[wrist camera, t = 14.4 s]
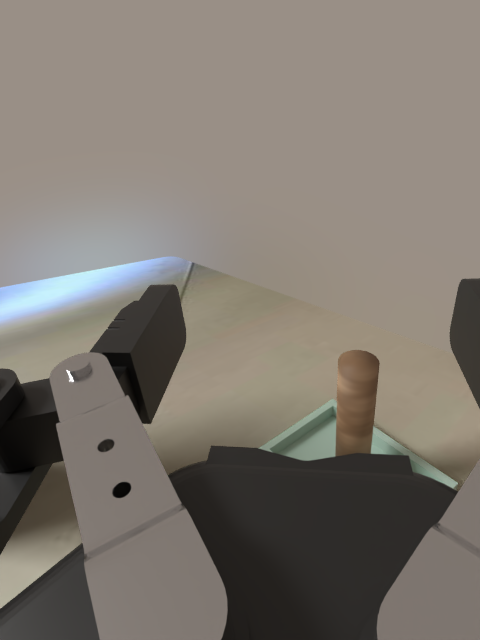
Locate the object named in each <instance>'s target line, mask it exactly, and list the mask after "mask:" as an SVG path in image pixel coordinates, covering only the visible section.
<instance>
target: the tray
mask: <svg viewBox="0 0 480 640" xmlns="http://www.w3.org/2000/svg"><path fill="white" fill-rule="evenodd" d="M336 416H337V401H335V400H334V399H332V400H330V401H329V402H327V403H326V404H324V405H323V406H321V407H320V408H318V409H317V410H315V411H314V412H312V413H311V414H309V415H308V416H306V417H305V418H303V419H302V420H300V421H299V422H297V423H296V424H294V425H293V426H291V427H290V428H288V429H287V430H285V431H284V432H282V433H281V434H279V435H278V436H276V437H275V438H273V439H272V440H270V441H269V442H267V443H266V444H264V445H263V446H261V447H260V448H258V449H262V450H266V451H269V452H273V453H277V454H281V455H284V456H288V457H292V458H296V459H299V460H304V461H310V460H317V459H323V458H329V457H335V449H336ZM371 454H389V455H409V458H410V462H411V466H412V471H413V472H415V473H419V474H422V475H425V476H427V477H430V478H433V479H435V480H437V481H439V482H441V483H444V484H446V485H447V486H449V487H451V488H453V489H454V490H456V489H457V486H458V483H457V482H456V481H454V480H453V479H451V478H450V477H448V476H447V475H445V474H444V473H442V472H441V471H439V470H438V469H436V468H435V467H433V466H432V465H430V464H429V463H427V462H426V461H425V460H423V459H422V458H420V457H419V456H417V455H416V454H414V453H413V452H411V451H410V450H408V449H407V448H405V447H404V446H402V445H401V444H399V443H398V442H396V441H395V440H393V439H392V438H390V437H389V436H387V435H386V434H384V433H383V432H381V431H380V430H378V429H377V428H375V427H374V426H373V436H372V446H371Z"/></svg>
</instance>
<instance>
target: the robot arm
mask: <svg viewBox="0 0 480 640" xmlns="http://www.w3.org/2000/svg"><path fill="white" fill-rule="evenodd" d="M185 343H186V328H185V322H184V317H183V312H182V307H181V302H180V297H179V292H178V289H177V287H176V285H150V286H149V287H148V288H147V290H146V291H145V293H144V294H143V295H142V297H141V298H140V300H139V301H133V302H132V303H130V304H129V305H127V306H126V307H125V308H123V309H122V310H121V311H120V312H119V313H118V315H117V316H116V317H115V319H114V321H112V323H111V324H110V325H109V327H108V329H106V331H105V332H104V333H103V335H102V336H101V337H100V339H99V340H98V341H97V343H96V344H95V345H94V347H93V348H92V349H91V351H90V352H89V353H82V354H78V355H74V356H72V357H69V358H67V359H65V360H64V361H62V362H61V363H59V364H58V365H57V366H56V367H55V368H54V369H53V370H52V372H51V374H50V377H49V378H48V379H43V380H38V381H33V382H28V383H23V384H20V382H19V380H18V377H17V375H16V374H15V372H14V371H12V370H10V369H0V554H1V553H2V551H3V549H4V547H5V546H6V544H7V542H8V540H9V539H10V537H11V535H12V533H13V532H14V530H15V528H16V526H17V525H18V523H19V521H20V519H21V518H22V516H23V514H24V512H25V511H26V509H27V507H28V505H29V504H30V502H31V500H32V498H33V497H34V495H35V493H36V491H37V490H38V488H39V486H40V484H41V482H42V481H43V479H44V477H45V475H46V474H47V472H48V470H49V468H50V467H51V465H52V463H55V462H60V461H64V463H65V468H66V472H67V477H68V481H69V485H70V490H71V494H72V499H73V503H74V507H75V512H76V516H77V521H78V525H79V530H80V534H81V538H82V544H80V545H79V546H78V547H77V548H75V549H74V550H73V551H72V552H70V553H69V554H68V555H67V556H65V557H64V558H63V559H62V560H60V561H59V562H58V563H57V564H55V565H54V566H53V567H52V568H51V569H49V570H48V571H47V572H46V573H44V574H43V575H42V576H41V577H39V578H38V579H37V580H36V581H34V582H33V583H32V584H31V585H29V586H28V587H27V588H26V589H25V590H23V591H22V592H21V593H20V594H18V595H17V596H16V597H15V598H13V599H12V600H11V601H10V602H8V603H7V604H6V605H5V606H3V607H2V608H1V609H0V640H480V459H479V461H478V462H477V464H476V465H475V467H474V468H473V470H472V471H471V473H470V475H469V476H468V478H467V479H466V481H465V482H464V484H463V485H462V487H461V489H460V490H459V492H458V491H456V490H454V489H453V488H451V487H449V486H447V485H446V484H444V483H441V482H439V481H437V480H435V479H433V478H430V477H427V476H425V475H422V474H419V473H415V472H413V471H412V466H411V462H410V458H409V455H389V454H368V453H354V454H348V455H341V456H335V457H329V458H323V459H317V460H310V461H304V460H299V459H296V458H292V457H288V456H284V455H281V454H277V453H273V452H269V451H266V450H262V449H258V448H245V447H225V446H211V448H210V452H209V456H208V460H207V461H203V462H198V463H195V464H191V465H189V466H186V467H183V468H181V469H179V470H177V471H175V472H173V473H171V474H169V475H167V473H166V471H165V469H164V467H163V465H162V463H161V461H160V459H159V457H158V455H157V453H156V451H155V449H154V447H153V445H152V443H151V441H150V439H149V436H148V434H147V432H146V430H145V428H144V426H143V424H151V422H152V420H153V418H154V415H155V413H156V411H157V409H158V406H159V404H160V402H161V400H162V397H163V395H164V393H165V391H166V388H167V386H168V384H169V381H170V379H171V377H172V375H173V372H174V370H175V368H176V366H177V363H178V361H179V359H180V357H181V354H182V352H183V350H184V347H185ZM450 344H451V348H452V351H453V353H454V355H455V358H456V360H457V362H458V364H459V366H460V368H461V370H462V372H463V374H464V377H465V379H466V381H467V383H468V385H469V387H470V389H471V391H472V394H473V396H474V398H475V400H476V402H477V404H478V406H479V408H480V279H462V280H461V282H460V284H459V287H458V292H457V297H456V302H455V307H454V312H453V317H452V322H451V327H450ZM142 423H143V424H142Z"/></svg>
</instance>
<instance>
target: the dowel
mask: <svg viewBox="0 0 480 640" xmlns="http://www.w3.org/2000/svg"><path fill="white" fill-rule="evenodd" d="M378 373H379V360H378V359H377V357H376V356H374V355H373V354H371V353H369V352H366V351H361V350H352V351H348V352H345V353H343V354H342V355H341V356H340V357H339V359H338V384H337V416H336V449H335V456H341V455H348V454H354V453H368V454H371V446H372V436H373V425H374V415H375V404H376V394H377V384H378Z"/></svg>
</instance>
